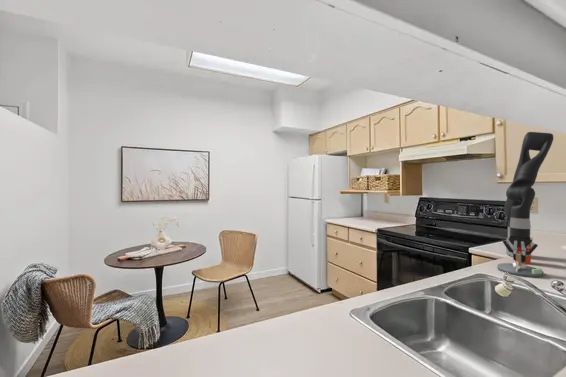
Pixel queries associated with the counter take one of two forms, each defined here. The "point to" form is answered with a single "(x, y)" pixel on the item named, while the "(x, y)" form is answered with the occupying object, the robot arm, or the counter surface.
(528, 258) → the coffee cup
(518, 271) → the dial plate
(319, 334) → the counter surface
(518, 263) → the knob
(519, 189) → the robot arm
